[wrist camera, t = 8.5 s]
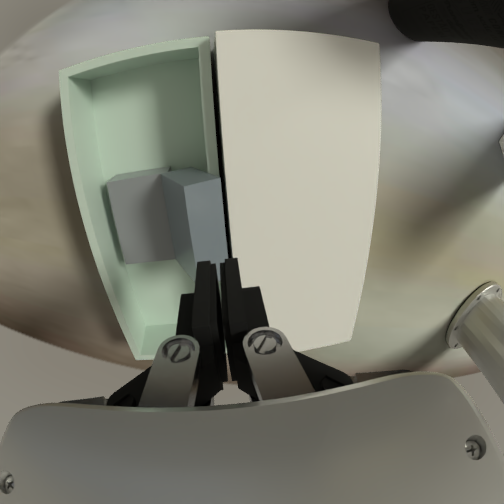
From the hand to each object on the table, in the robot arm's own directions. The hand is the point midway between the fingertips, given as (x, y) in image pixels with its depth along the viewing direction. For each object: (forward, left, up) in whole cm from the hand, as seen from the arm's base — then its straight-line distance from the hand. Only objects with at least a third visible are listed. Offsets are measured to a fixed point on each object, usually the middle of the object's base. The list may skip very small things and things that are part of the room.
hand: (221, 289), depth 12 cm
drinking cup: (-17, -16, -10) cm, 25 cm away
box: (+4, 0, -10) cm, 10 cm away
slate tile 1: (0, -1, -6) cm, 6 cm away
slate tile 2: (+5, -1, -7) cm, 9 cm away
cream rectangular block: (-5, 0, -10) cm, 11 cm away
